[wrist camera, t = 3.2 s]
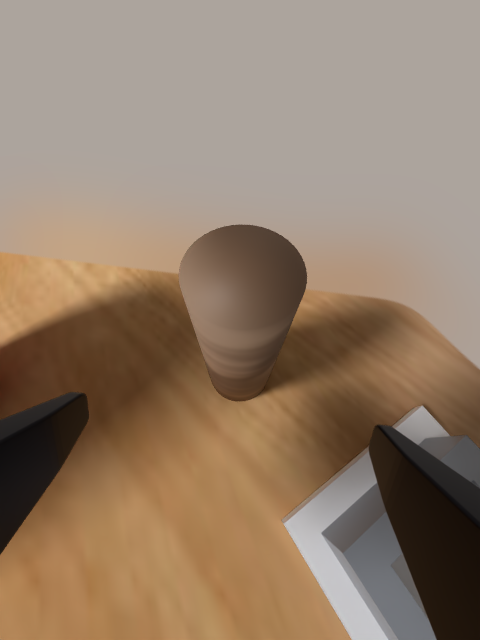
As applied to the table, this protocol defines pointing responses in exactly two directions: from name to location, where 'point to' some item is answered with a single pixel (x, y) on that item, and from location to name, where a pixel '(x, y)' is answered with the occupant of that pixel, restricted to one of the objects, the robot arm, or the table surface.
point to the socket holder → (372, 538)
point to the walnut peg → (241, 303)
